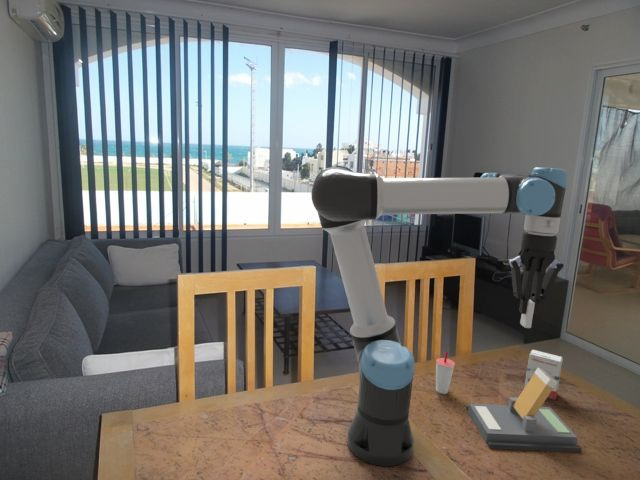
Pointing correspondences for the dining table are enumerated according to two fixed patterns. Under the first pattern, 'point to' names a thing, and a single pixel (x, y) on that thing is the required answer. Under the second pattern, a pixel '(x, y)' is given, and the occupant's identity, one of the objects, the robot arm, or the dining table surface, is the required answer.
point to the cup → (444, 374)
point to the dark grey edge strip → (534, 446)
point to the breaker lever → (534, 394)
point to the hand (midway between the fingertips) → (525, 325)
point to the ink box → (545, 368)
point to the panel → (520, 425)
